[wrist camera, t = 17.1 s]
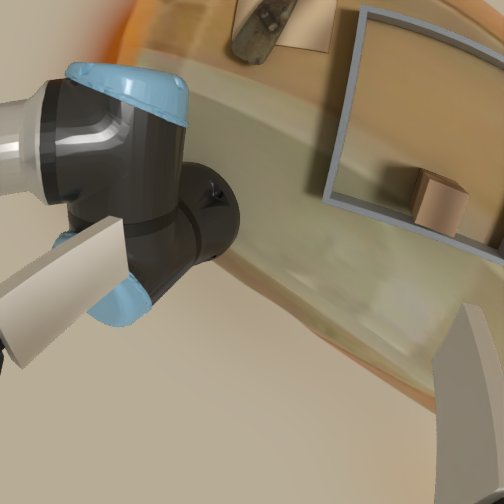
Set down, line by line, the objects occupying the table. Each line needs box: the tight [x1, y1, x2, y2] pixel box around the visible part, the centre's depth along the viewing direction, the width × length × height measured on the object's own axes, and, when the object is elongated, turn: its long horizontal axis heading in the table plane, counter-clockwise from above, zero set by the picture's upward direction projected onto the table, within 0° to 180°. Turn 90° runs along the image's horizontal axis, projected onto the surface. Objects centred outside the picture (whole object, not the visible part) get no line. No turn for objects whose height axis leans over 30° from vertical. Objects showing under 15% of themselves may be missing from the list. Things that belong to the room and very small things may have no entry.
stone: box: [231, 0, 298, 65], centre depth 28 cm, size 13×5×2 cm, turn 153°
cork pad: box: [231, 0, 337, 53], centre depth 28 cm, size 12×12×1 cm
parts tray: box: [321, 4, 504, 266], centre depth 28 cm, size 26×24×3 cm
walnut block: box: [409, 168, 470, 237], centre depth 30 cm, size 5×5×6 cm
